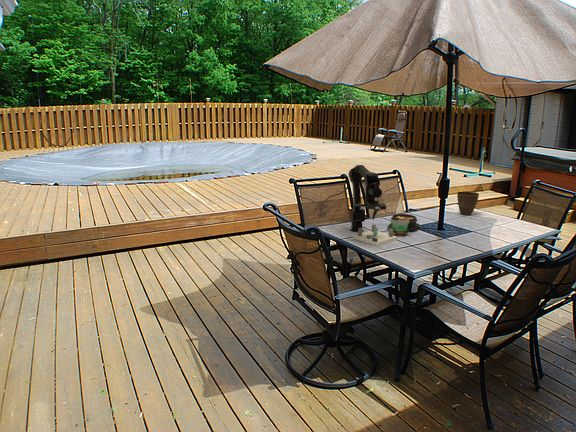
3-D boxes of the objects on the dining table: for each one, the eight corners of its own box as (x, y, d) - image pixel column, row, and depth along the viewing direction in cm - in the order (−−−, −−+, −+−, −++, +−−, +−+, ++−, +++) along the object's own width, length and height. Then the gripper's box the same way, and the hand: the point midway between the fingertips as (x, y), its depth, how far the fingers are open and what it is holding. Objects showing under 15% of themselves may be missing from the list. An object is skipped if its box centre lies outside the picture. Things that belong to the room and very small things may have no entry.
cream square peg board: (353, 238, 262) (353, 228, 260) (372, 233, 273) (373, 223, 271) (377, 245, 248) (378, 235, 246) (396, 239, 259) (397, 229, 258)
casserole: (404, 235, 269) (405, 222, 267) (380, 229, 282) (380, 216, 280) (426, 228, 284) (427, 215, 282) (402, 222, 298) (403, 210, 296)
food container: (394, 237, 264) (395, 221, 262) (389, 234, 270) (390, 219, 267) (412, 235, 267) (413, 220, 265) (407, 233, 273) (408, 217, 271)
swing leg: (369, 238, 254) (369, 230, 252) (365, 237, 256) (365, 229, 254) (378, 236, 259) (378, 228, 258) (374, 235, 261) (375, 227, 260)
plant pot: (480, 216, 314) (483, 195, 310) (461, 217, 312) (464, 195, 308) (469, 211, 329) (472, 191, 325) (451, 212, 327) (453, 191, 323)
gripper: (355, 196, 247) (354, 223, 251) (388, 197, 245) (386, 223, 249) (353, 193, 258) (352, 218, 262) (385, 193, 256) (384, 219, 260)
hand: (368, 219), depth 258 cm, fingers open, 4 cm apart
